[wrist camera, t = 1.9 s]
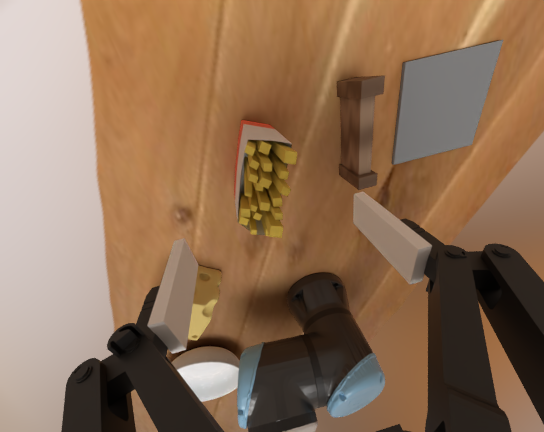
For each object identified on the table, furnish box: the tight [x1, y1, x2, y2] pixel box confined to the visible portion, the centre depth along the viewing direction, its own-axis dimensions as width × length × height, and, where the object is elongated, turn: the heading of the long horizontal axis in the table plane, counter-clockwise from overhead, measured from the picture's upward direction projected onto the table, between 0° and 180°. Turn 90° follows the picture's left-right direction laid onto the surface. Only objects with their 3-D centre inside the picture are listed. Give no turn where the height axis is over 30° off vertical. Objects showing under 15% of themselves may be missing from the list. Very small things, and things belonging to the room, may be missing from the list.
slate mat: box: [392, 40, 503, 165], centre depth 37 cm, size 16×16×1 cm
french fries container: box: [234, 120, 297, 238], centre depth 28 cm, size 5×11×18 cm, turn 169°
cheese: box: [188, 265, 222, 340], centre depth 43 cm, size 10×11×10 cm
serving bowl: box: [172, 346, 240, 402], centre depth 60 cm, size 21×21×7 cm
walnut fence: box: [337, 76, 385, 190], centre depth 34 cm, size 15×3×7 cm, turn 11°
